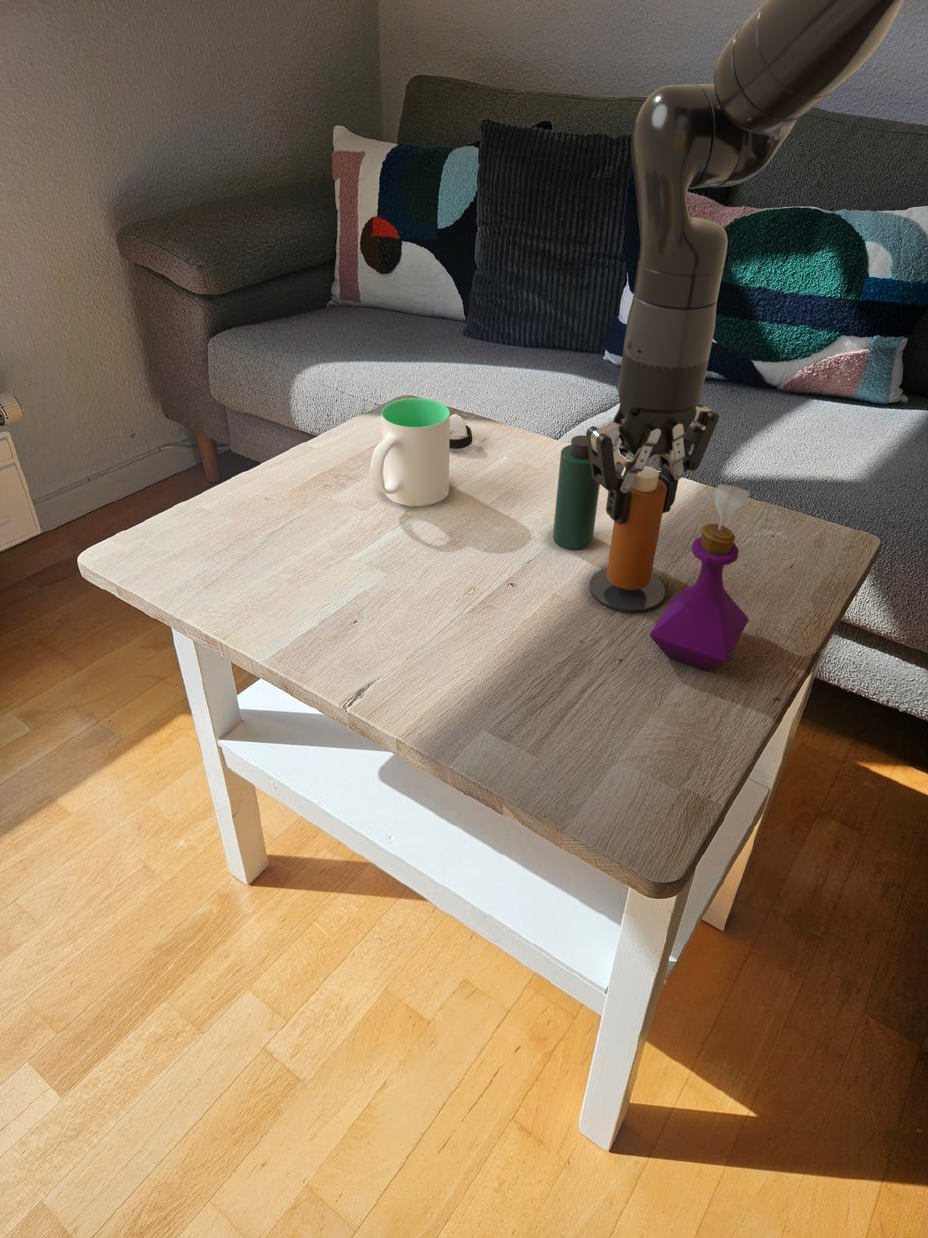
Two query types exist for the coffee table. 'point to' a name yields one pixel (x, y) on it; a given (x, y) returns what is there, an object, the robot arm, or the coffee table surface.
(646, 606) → the slate coaster
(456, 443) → the watch
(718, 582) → the perfume bottle
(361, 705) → the coffee table surface
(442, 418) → the mug
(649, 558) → the amber bottle
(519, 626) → the coffee table surface
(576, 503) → the green bottle
